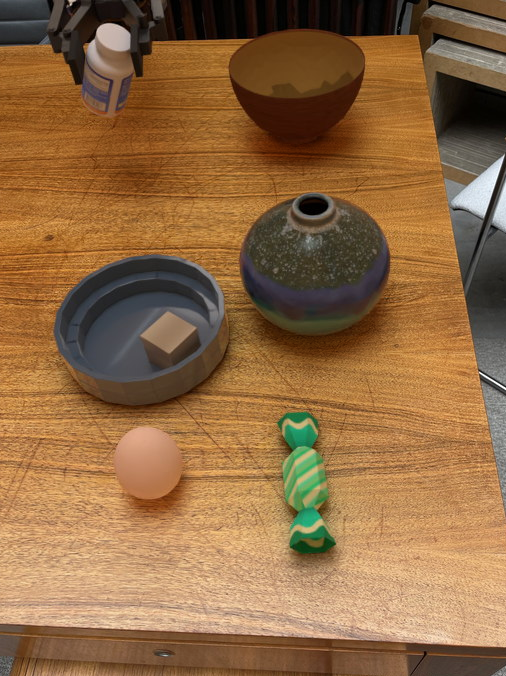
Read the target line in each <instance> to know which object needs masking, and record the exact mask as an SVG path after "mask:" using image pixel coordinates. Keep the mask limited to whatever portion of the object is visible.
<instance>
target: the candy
mask: <svg viewBox="0 0 506 676" xmlns="http://www.w3.org/2000/svg"><path fill="white" fill-rule="evenodd" d="M276 424H277V426H278V428H279V430H280V433H281V434H282V436H283V439H284V440H285V442H286V443H287V444H288V446H289V447H290V449H291V450H292V452H290V454H289V455H288V456H286V458H285V459H284V460H283V461H282V462H281V470H282V480H283V489H284V499H285V503H287V504H288V505H289V506H290V507H291V508H292V509H294V510H295V511H297V512H298V513H297V514H296V517H295V518H294V520H293V522H292V523H291V525H290V528H289V530H290V531H289V548H290V549H291V550H293V551H295V552H296V553H299V554H301V555H307V554H321V553H326V552H327V551H329V550H330V549H332V548H333V547H335V546H336V545H337V542H336V540H335V538H334V536H333V534H332V532H331V529H330V528H329V526H328V524H327V523H326V521H325V519H323V517H322V515H321V514H320V513H319V511H318V510H319V509H320V508H321V506H322V505H323V504H324V503H325V502H326V501H327V500H328V499H329V498H330V497H329V496H330V495H329V490H328V483H327V477H326V475H327V474H326V469H325V462H324V458H323V456H321V455H320V454H319V452H318V451H317V450H316V449H314V448H312V447H313V446H314V444H315V442H316V441H317V439H318V437H319V420H318V419H317V418H316V417H314V415H312V414H311V413H310V412H309V411H293V412H286V413H285V414H284V415H283V416H281V418H280V419H279V420H278V421H276Z"/></svg>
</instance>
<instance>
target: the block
mask: <svg viewBox="0 0 506 676" xmlns="http://www.w3.org/2000/svg"><path fill="white" fill-rule="evenodd" d="M140 337H141V340H142V342H143V345H144V348H145V351H146V354H147V356H148V359H149V361H150V362H152V363H154V364H155V365H157V366H158V367H160V368H161V369H163V370H164V369H167V368H169V367H172V366H175V365H177V364H178V363H180V362H181V361H183V360H184V359H186V358H187V357H189V356H190V355H192V354H193V353H194V352H196V351H197V350H198V349H199V348H200V347H201V343H200V338H199V334H198V330H197V328H196V327H194V326H193V325H191V324H189V323H188V322H186V321H184V320H182V319H181V318H179V317H177V316H176V315H174V314H172V313H170V312H169V311H167V312H166V313H165V314H164V315H163V316H162V317H161V318H159V319H158V320H157V321H156V322H155V323H154V324H153V325H152V326H150V327H149V328H148V329H147V330H146V331H145V332H144V333H143V334H141V335H140Z"/></svg>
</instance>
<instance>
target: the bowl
mask: <svg viewBox="0 0 506 676" xmlns="http://www.w3.org/2000/svg"><path fill="white" fill-rule="evenodd" d="M227 67H228V74H229V80H230V84H231V87H232V90H233V93H234V95H235V97H236V100H237V101H238V103H239V105H240V107H241V108H242V109H243V111H244V112H245V114H246V115H247V116H248V118H249V119H250V120H251V121H252V122H253V123H254V124H255V125H256V126H257V127H259V128H261V130H263V131H264V132H266V133H268V134H270V135H272V136H274V137H277V138H279V139H280V140H281V141H283V142H285V143H288V144H291V145H292V144H293V145H302V144H307V143H310V142H313V141H315V140H316V139H317V138H319V137H320V135H322V134H325V133H327V132H328V131H330V130H331V129H333V128H334V127H335V126H337V125H339V124H340V122H341V121H342V120H343V119H344V118H345V116H346V115H347V114H348V112H349V111H350V109H351V107H352V106H353V105H354V104H355V101H356V99H357V98H358V95H359V93H360V91H361V88H362V84H363V81H364V75H365V71H366V55H365V53H364V51H363V49H362V48H361V47H360V46H359V45H358V44H357V43H356V42H355V41H353V40H352V39H350V38H348V37H346V36H345V35H341V34H338V33H335V32H333V31H329V30H323V29H312V28H295V29H291V28H290V29H284V30H283V29H282V30H277V31H273V32H269V33H266V34H263V35H260V36H257V37H255V38H252V39H251V40H249V41H247V42H245V43H243V44H242V45H241V46H239V48H237V49H236V50H235V51H234V53H233V54H232V55H231V57H230V58H229V63H228V65H227Z"/></svg>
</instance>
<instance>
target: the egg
mask: <svg viewBox="0 0 506 676" xmlns="http://www.w3.org/2000/svg"><path fill="white" fill-rule="evenodd" d="M181 452H182V451H181V450H180V448H179V446H178V444H177V442H176V441H175V440H174V439H173V437H172V436H171V435H170V434H168V433H167V432H165V431H163V430H161V429H159V428H156V427H152V426H137V427H136V428H133V429H131V430H129V431H127V432H126V433H125V434H124V435H123V436H122V437H121V438H120V440H119V441H118V442H117V445H116V447H115V450H114V454H113V461H112V463H113V471H114V474H115V477H116V479H117V481H118V483H119V485H120V486H121V487H122V488H123V489H124V491H126V492H127V493H128V494H130V495H131V496H133V497H136V498H138V499H141V500H156V499H160V498H163V497H164V496H166V495H168V494H169V493H171V491H173V490H174V489H175V487H176V486H178V484H179V482H180V480H181V477H182V474H183V468H184V460H183V455H182V453H181Z"/></svg>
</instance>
